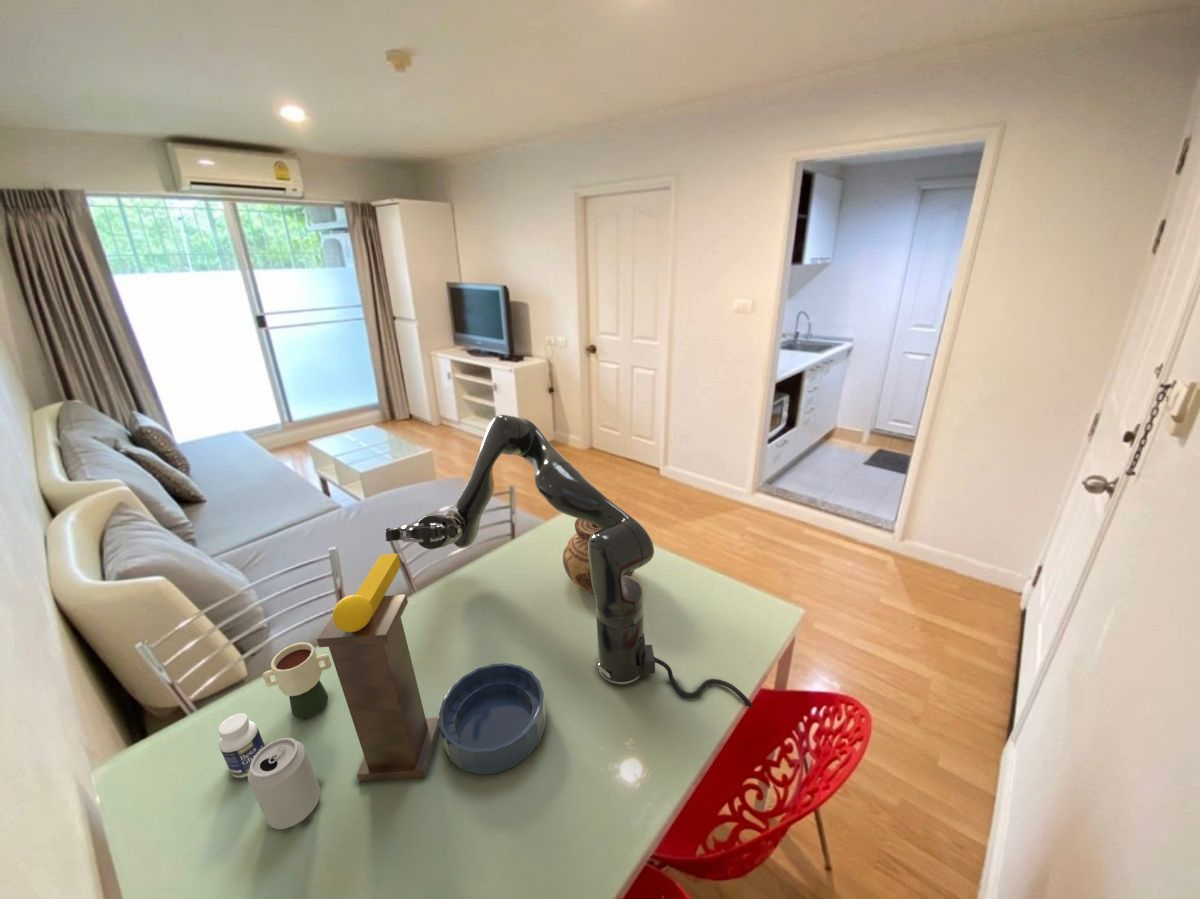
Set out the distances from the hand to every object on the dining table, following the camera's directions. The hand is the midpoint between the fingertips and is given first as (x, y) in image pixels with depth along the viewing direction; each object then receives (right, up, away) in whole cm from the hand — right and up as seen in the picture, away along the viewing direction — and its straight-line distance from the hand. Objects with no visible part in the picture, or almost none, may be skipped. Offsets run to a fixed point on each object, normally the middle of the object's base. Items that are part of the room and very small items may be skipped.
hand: (411, 534), depth 96 cm
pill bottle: (-24, -38, -11) cm, 46 cm away
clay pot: (+37, -18, +32) cm, 52 cm away
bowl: (+18, -34, -6) cm, 39 cm away
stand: (+2, -36, -10) cm, 38 cm away
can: (-12, -41, -18) cm, 46 cm away
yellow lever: (+1, -7, -18) cm, 19 cm away
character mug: (-19, -34, -1) cm, 39 cm away
